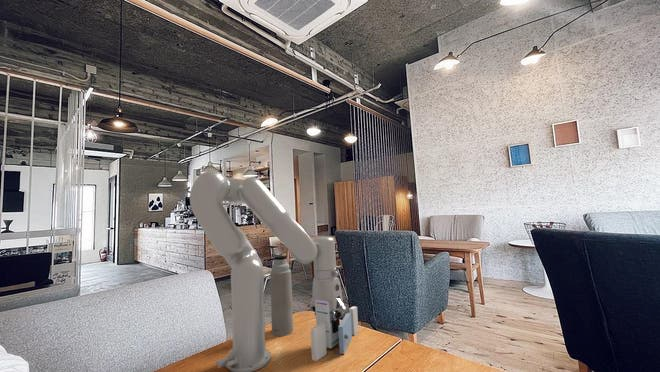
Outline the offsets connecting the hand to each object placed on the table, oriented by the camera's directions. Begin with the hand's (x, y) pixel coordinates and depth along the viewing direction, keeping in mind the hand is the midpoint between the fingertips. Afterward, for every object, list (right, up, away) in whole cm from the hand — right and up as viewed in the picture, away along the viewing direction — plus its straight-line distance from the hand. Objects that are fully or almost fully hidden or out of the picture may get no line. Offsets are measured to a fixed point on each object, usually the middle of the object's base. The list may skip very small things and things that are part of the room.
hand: (328, 328), depth 91 cm
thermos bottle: (-17, -8, +12) cm, 23 cm away
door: (+7, -5, 0) cm, 8 cm away
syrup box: (0, -5, 0) cm, 5 cm away
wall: (+3, -5, -1) cm, 6 cm away
